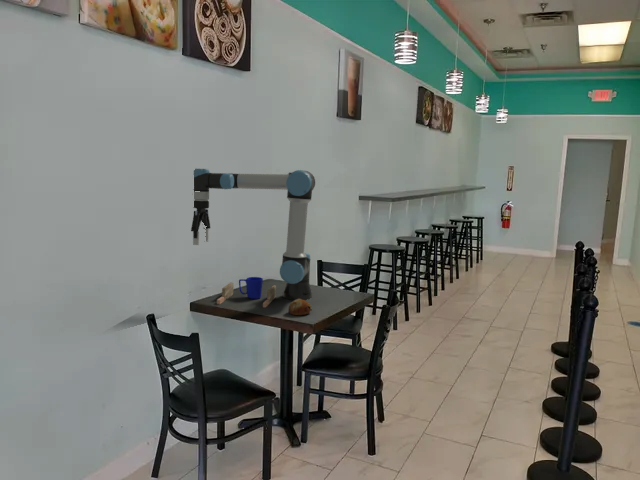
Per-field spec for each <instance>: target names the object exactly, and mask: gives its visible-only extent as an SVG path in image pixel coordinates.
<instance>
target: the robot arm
mask: <svg viewBox="0 0 640 480" xmlns="http://www.w3.org/2000/svg"><path fill="white" fill-rule="evenodd" d="M193 175H194V189H193V190H194V199H193V201H194V207H193V209H196V210H194V211H193V217H192V224H191V228H190V231H191V232H192V245H193V246H199V245H200V231H199V230H200V226H201V223H202V222H203V223H204V225H205V226H207V227H206V229H205V228H204V229H205V230H206V232H205V233H206V236H205V237H206V242H205V243H207V242H209V236H210V235H209V234H210V233H209V231H210V230H209V229H211V222H210V215H209V207H210V201H209V200H210V189H217V190H231V189H247V190H248V189H249V190H252V189H253V190H282V191H283V190H284V191H285V190H287V193H286V199H287V200H288V201H289V207H288V209H289V210H288V222H287V223H288V224H287V235H286V236H287V237H286V248H285V249H286V250H285V252H283V253H282V261H281V262H282V263H281V265H280V267H279V275H280V277H281V279H282V280H283V281H284V282H285V285H284V289H283V292H282V297H283V299H286V300H289V301H290V300H291V301H294V300H296V299H302V300H305V301H307V299H308V300H310V298H311V299H312V298H313V292H312V288H311V284H310V277H311V276H310V272H311V271H310V270H311V254H309V253H307V252H306V253H305V243H306V242H305V240H306V230H307V216H308V206H309V203H310V202H311V201H312V196H313V190H314V188H315V186H316V179H315V177H314V174H312V173H311V172H309V171H307V170H301V169H300V170H299V169H298V170H297V169H296V170H294V171H292V172H288V173H287V174H286V173H285V174H284V173H283V174H281V173H280V174H279V173H278V174H277V173H233V172H231V173H230V172H228V173H227V172H226V173H223V172H222V173H220V172H219V173H218V172H210V170H209V168H195V170H194V169H193ZM195 191H200V192H195Z"/></svg>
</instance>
